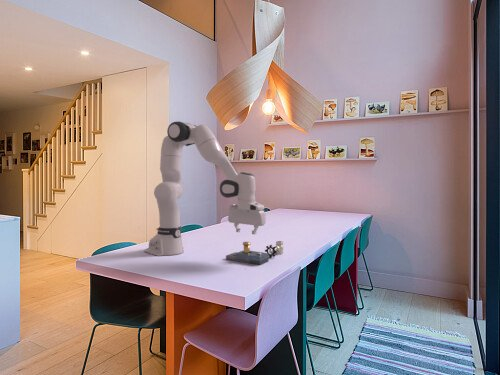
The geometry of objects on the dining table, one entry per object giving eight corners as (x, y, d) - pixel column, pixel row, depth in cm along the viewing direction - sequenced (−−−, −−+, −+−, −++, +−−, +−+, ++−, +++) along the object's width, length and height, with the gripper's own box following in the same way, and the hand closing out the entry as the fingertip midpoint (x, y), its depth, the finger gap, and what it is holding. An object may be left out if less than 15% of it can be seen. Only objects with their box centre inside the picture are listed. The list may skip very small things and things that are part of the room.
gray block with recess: (226, 259, 170) (225, 250, 170) (235, 256, 177) (235, 247, 177) (260, 265, 159) (260, 255, 159) (268, 261, 166) (268, 252, 166)
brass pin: (241, 260, 168) (241, 242, 167) (245, 259, 171) (245, 241, 170) (247, 261, 166) (247, 243, 165) (252, 260, 169) (251, 242, 168)
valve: (276, 252, 185) (264, 256, 175) (276, 240, 185) (264, 244, 175) (286, 253, 182) (275, 258, 172) (286, 241, 181) (275, 245, 171)
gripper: (225, 204, 170) (225, 231, 170) (260, 207, 159) (260, 236, 159) (233, 203, 175) (232, 230, 176) (267, 206, 164) (266, 234, 165)
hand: (246, 233), depth 167 cm, fingers open, 8 cm apart
